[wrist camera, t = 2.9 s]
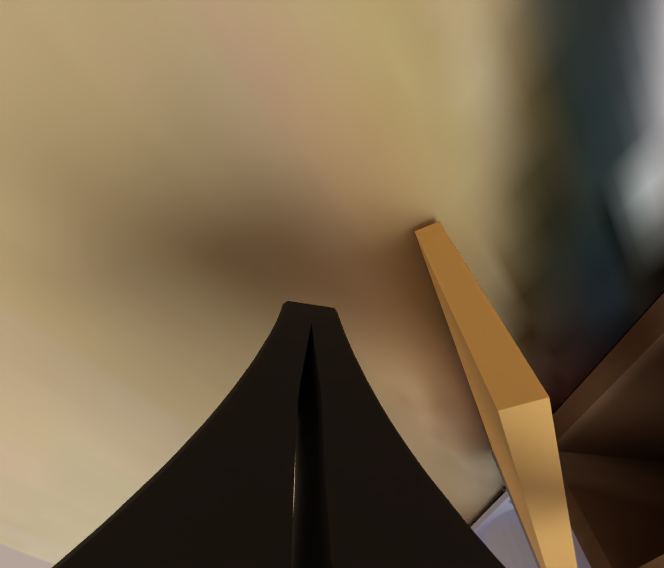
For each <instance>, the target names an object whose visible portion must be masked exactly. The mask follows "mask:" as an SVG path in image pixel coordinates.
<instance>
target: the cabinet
mask: <svg viewBox="0 0 664 568" xmlns="http://www.w3.org/2000/svg"><path fill="white" fill-rule="evenodd" d="M552 417H553V423H554V429H555V435H556V441H557V447H558V453H559V459H560V465H561V471H562V477H563V484H564V490H565V496H566V502H567V508H568V514H569V520H570V526H571V528H572V530H573V532H574V534H575V536H576V538H577V540H578V542H579V544H580V546H581V548H582V550H583V552H584V554H585V556H586V558H587V560H588V562H589V564H590V566H591V568H664V293H663V294H662V295H661V296H660V297H659V298H658V299H657V301H656V302H655V303H654V304H653V305H652V306H651V307H650V308H649V309H648V311H647V312H646V313H645V314H644V315H643V316H642V317H641V318H640V319H639V320H638V322H637V323H636V324H635V325H634V326H633V327H632V328H631V329H630V330H629V331H628V333H627V334H626V335H625V336H624V337H623V338H622V339H621V340H620V341H619V343H618V344H617V345H616V346H615V347H614V348H613V349H612V350H611V351H610V352H609V354H608V355H607V356H606V357H605V358H604V359H603V360H602V361H601V362H600V364H599V365H598V366H597V367H596V368H595V369H594V370H593V371H592V372H591V373H590V375H589V376H588V377H587V378H586V379H585V380H584V381H583V382H582V383H581V384H580V386H579V387H578V388H577V389H576V390H575V391H574V392H573V393H572V394H571V396H570V397H569V398H568V399H567V400H566V401H565V402H564V403H563V404H562V405H561V407H560V408H559V409H558V410H557V411H556V412H555V413H554V414H553V415H552Z"/></svg>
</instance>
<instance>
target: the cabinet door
mask: <svg viewBox="0 0 664 568" xmlns="http://www.w3.org/2000/svg"><path fill="white" fill-rule="evenodd" d="M415 234H416V237H417V240H418V242H419V245H420V248H421V251H422V254H423V256H424V259H425V262H426V265H427V267H428V270H429V273H430V276H431V279H432V281H433V284H434V287H435V290H436V293H437V295H438V298H439V301H440V304H441V307H442V309H443V312H444V315H445V318H446V321H447V323H448V326H449V329H450V332H451V335H452V337H453V340H454V343H455V346H456V349H457V351H458V354H459V357H460V360H461V363H462V365H463V368H464V371H465V374H466V376H467V379H468V382H469V385H470V388H471V390H472V393H473V396H474V399H475V402H476V404H477V407H478V410H479V413H480V416H481V418H482V421H483V424H484V427H485V430H486V432H487V435H488V438H489V441H490V444H491V446H492V449H493V452H492V455H493V457H494V460H495V462H496V465H497V467H498V470H499V472H500V475H501V477H502V480H503V482H504V485H505V487H506V490H507V492H508V495H509V497H510V500H511V502H512V505H513V507H514V510H515V512H516V515H517V517H518V520H519V522H520V525H521V527H522V530H523V532H524V535H525V537H526V540H527V542H528V545H529V547H530V549H531V552H532V554H533V557H534V559H535V562H536V564H537V567H538V568H577V562H576V556H575V550H574V544H573V538H572V532H571V526H570V520H569V514H568V508H567V502H566V496H565V490H564V484H563V477H562V471H561V465H560V459H559V453H558V447H557V441H556V435H555V429H554V423H553V417H552V411H551V405H550V399H549V396H548V394H547V393H546V391H545V390H544V388H543V386H542V385H541V383H540V382H539V380H538V378H537V377H536V375H535V374H534V372H533V370H532V369H531V367H530V366H529V364H528V362H527V361H526V359H525V358H524V356H523V354H522V353H521V351H520V350H519V348H518V346H517V345H516V343H515V342H514V340H513V339H512V337H511V335H510V334H509V332H508V331H507V329H506V327H505V326H504V324H503V323H502V321H501V319H500V318H499V316H498V315H497V313H496V311H495V310H494V308H493V307H492V305H491V303H490V302H489V300H488V299H487V297H486V295H485V294H484V292H483V291H482V289H481V287H480V286H479V284H478V283H477V281H476V279H475V278H474V276H473V275H472V273H471V271H470V270H469V268H468V267H467V265H466V263H465V262H464V260H463V259H462V257H461V255H460V254H459V252H458V251H457V249H456V247H455V246H454V244H453V243H452V241H451V240H450V238H449V236H448V235H447V233H446V232H445V230H444V228H443V227H442V225H441V224H440V222H436V223H434V224H431V225H429V226H426V227H424V228H421V229H419V230H416V231H415Z"/></svg>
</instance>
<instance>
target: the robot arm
mask: <svg viewBox="0 0 664 568" xmlns="http://www.w3.org/2000/svg"><path fill="white" fill-rule="evenodd" d="M294 467H295V497H294V510H293V491H294ZM571 532H572V538H573V544H574V550H575V556H576V562H577V568H591V566H590V564H589V562H588V560H587V558H586V556H585V554H584V552H583V550H582V548H581V546H580V544H579V542H578V540H577V538H576V536H575V534H574V532H573V530H572V528H571ZM52 568H538V567H537V564H536V562H535V559H534V557H533V554H532V552H531V549H530V547H529V545H528V542H527V540H526V537H525V535H524V532H523V530H522V527H521V525H520V522H519V520H518V517H517V515H516V512H515V510H514V507H513V505H512V502H511V500H510V497H509V495H508V492H507V490H506V491H505V492H504V493H503V495H502V496H501V497H500V498H499V499H498V500H497V501H496V502H495V503H494V504H493V505H492V506H491V507H490V508H489V509H488V510H487V511H486V512H485V513H484V514H483V515H482V516H481V517H480V518H479V519H478V520H477V521H476V522H475V523H474V524H473V525H472V526H471V527H470V526H469V525H468V524H467V523H466V522H465V521H464V519H463V518H462V517H461V516H460V514H459V513H458V512H457V511H456V509H455V508H454V507H453V506H452V504H451V503H450V502H449V501H448V499H447V498H446V497H445V496H444V494H443V493H442V492H441V491H440V489H439V488H438V487H437V486H436V484H435V483H434V482H433V481H432V479H431V478H430V477H429V476H428V474H427V473H426V472H425V470H424V469H423V468H422V466H421V465H420V463H419V462H418V461H417V459H416V458H415V456H414V455H413V454H412V452H411V451H410V449H409V448H408V447H407V445H406V444H405V442H404V441H403V439H402V438H401V436H400V435H399V433H398V432H397V430H396V429H395V427H394V426H393V424H392V422H391V421H390V419H389V418H388V416H387V414H386V413H385V411H384V409H383V408H382V406H381V404H380V403H379V401H378V399H377V397H376V396H375V394H374V392H373V390H372V389H371V387H370V385H369V383H368V381H367V379H366V377H365V375H364V373H363V371H362V369H361V367H360V365H359V363H358V361H357V359H356V357H355V355H354V353H353V351H352V349H351V346H350V344H349V342H348V339H347V337H346V335H345V332H344V330H343V327H342V324H341V322H340V319H339V316H338V313H337V311H336V310H335V308H331V307H324V306H317V305H311V304H304V303H297V302H291V301H287V302H285V303H284V304H283V305H282V309H281V312H280V314H279V317H278V319H277V321H276V323H275V325H274V327H273V329H272V331H271V333H270V335H269V336H268V338H267V340H266V341H265V343H264V344H263V346H262V348H261V349H260V351H259V352H258V354H257V356H256V357H255V359H254V360H253V362H252V363H251V364H250V366H249V367H248V369H247V370H246V371H245V373H244V374H243V375H242V377H241V378H240V380H239V381H238V382H237V384H236V385H235V386H234V388H233V389H232V390H231V391H230V393H229V394H228V395H227V397H226V398H225V399H224V400H223V401H222V403H221V404H220V405H219V406H218V407H217V409H216V410H215V411H214V412H213V413H212V414H211V416H210V417H209V418H208V419H207V420H206V421H205V423H204V424H203V425H202V426H201V427H200V428H199V429H198V430H197V431H196V432H195V433H194V435H193V436H192V437H191V438H190V439H189V440H188V441H187V442H186V443H185V444H184V445H183V446H182V448H181V449H180V450H179V451H178V452H177V453H176V454H175V455H174V456H173V457H172V458H171V459H170V460H169V461H168V462H167V463H166V464H165V465H164V466H163V467H162V468H161V469H160V470H159V471H158V472H157V473H156V474H155V475H154V476H153V477H152V478H151V479H150V480H149V481H147V482H146V483H145V484H144V485H143V486H142V487H141V488H140V489H139V490H138V491H137V492H136V493H135V494H134V495H133V496H132V497H131V498H130V499H129V500H127V501H126V502H125V503H124V504H123V505H122V506H121V507H120V508H119V509H118V510H117V511H116V512H115V513H114V514H113V515H112V516H111V517H109V518H108V519H107V520H106V521H105V522H104V523H103V524H102V525H101V526H99V527H98V528H97V529H96V530H95V531H94V532H93V533H92V534H90V535H89V536H88V537H87V538H86V539H85V540H83V541H82V542H81V543H80V544H79V545H78V546H76V547H75V548H74V549H73V550H72V551H71V552H70V553H68V554H67V555H66V556H65V557H64V558H63V559H61V560H60V561H59V562H58V563H57V564H56V565H54V566H53V567H52Z"/></svg>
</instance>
